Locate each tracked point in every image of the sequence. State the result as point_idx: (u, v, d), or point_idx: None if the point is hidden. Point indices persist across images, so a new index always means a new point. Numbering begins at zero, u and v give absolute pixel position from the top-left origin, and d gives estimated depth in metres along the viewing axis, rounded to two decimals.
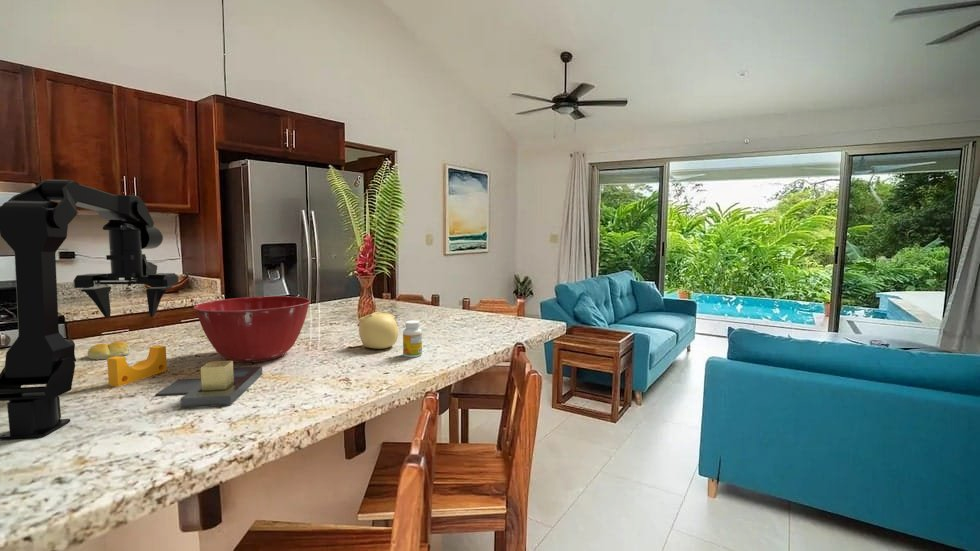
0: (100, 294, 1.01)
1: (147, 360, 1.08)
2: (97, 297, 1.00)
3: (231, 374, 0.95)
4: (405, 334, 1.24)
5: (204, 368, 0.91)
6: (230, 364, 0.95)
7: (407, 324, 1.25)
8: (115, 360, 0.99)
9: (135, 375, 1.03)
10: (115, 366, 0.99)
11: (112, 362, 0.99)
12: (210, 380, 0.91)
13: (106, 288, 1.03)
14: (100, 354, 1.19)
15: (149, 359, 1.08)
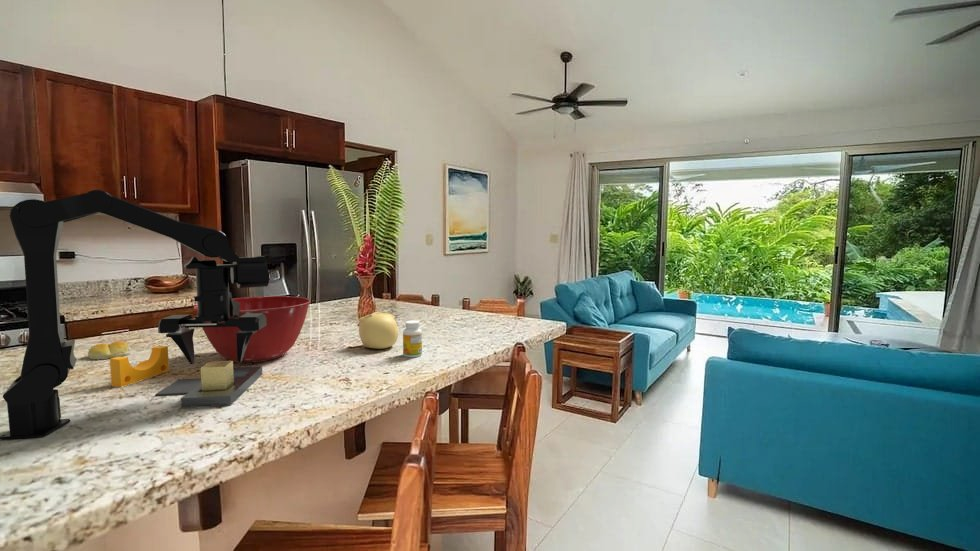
0: (186, 338, 0.91)
1: (149, 360, 1.08)
2: (182, 343, 0.90)
3: (231, 374, 0.95)
4: (405, 334, 1.24)
5: (204, 368, 0.91)
6: (230, 364, 0.95)
7: (407, 324, 1.25)
8: (118, 360, 0.98)
9: (138, 375, 1.03)
10: (118, 366, 0.99)
11: (115, 363, 0.99)
12: (210, 380, 0.91)
13: (190, 331, 0.93)
14: (100, 354, 1.19)
15: (151, 360, 1.08)
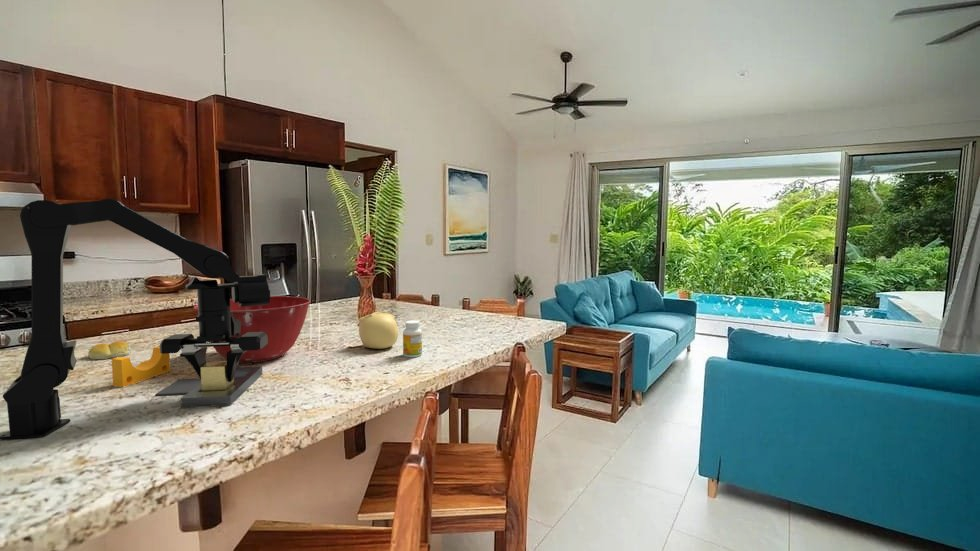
0: (199, 357, 0.92)
1: (151, 361, 1.07)
2: (196, 362, 0.91)
3: None
4: (405, 334, 1.24)
5: (204, 368, 0.91)
6: None
7: (407, 324, 1.25)
8: (120, 361, 0.98)
9: (140, 375, 1.03)
10: (120, 367, 0.98)
11: (117, 363, 0.98)
12: (210, 379, 0.91)
13: (203, 350, 0.94)
14: (100, 354, 1.19)
15: (152, 360, 1.08)
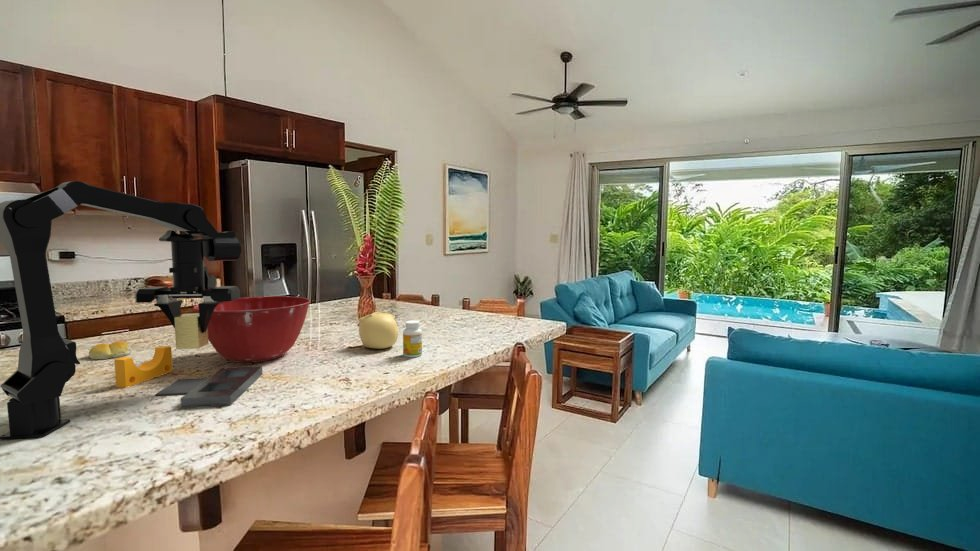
0: (173, 308, 0.96)
1: (153, 361, 1.07)
2: (170, 312, 0.95)
3: None
4: (405, 334, 1.24)
5: (178, 318, 0.95)
6: None
7: (407, 324, 1.25)
8: (123, 361, 0.98)
9: (142, 376, 1.03)
10: (123, 367, 0.98)
11: (120, 363, 0.98)
12: (183, 329, 0.96)
13: (178, 302, 0.98)
14: (101, 354, 1.19)
15: (154, 360, 1.07)
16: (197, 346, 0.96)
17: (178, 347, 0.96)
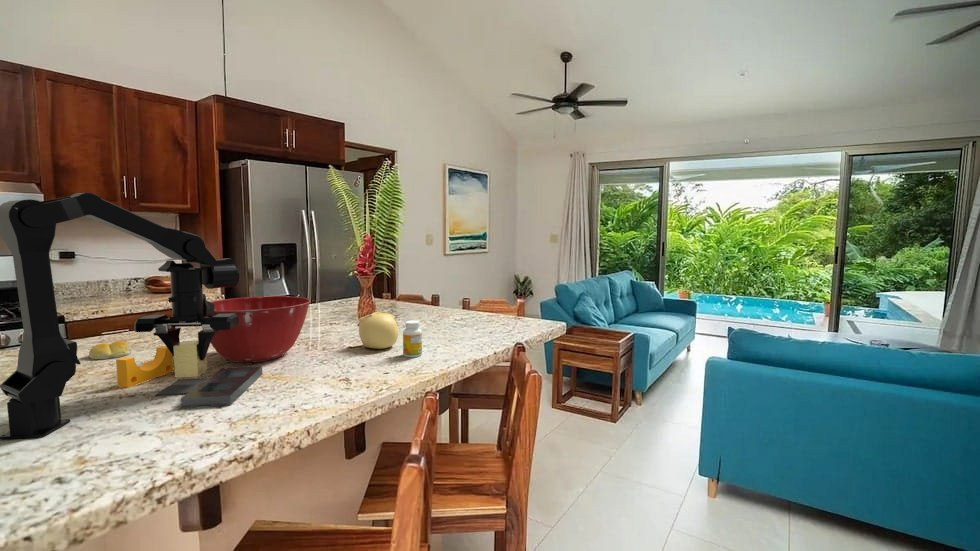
0: (172, 337, 0.97)
1: (154, 361, 1.07)
2: (169, 341, 0.96)
3: None
4: (405, 334, 1.24)
5: (177, 346, 0.96)
6: None
7: (407, 324, 1.25)
8: (125, 361, 0.98)
9: (144, 376, 1.02)
10: (124, 367, 0.98)
11: (121, 363, 0.98)
12: (182, 357, 0.96)
13: (176, 330, 0.99)
14: (101, 354, 1.19)
15: (156, 360, 1.07)
16: (196, 374, 0.97)
17: (177, 375, 0.97)
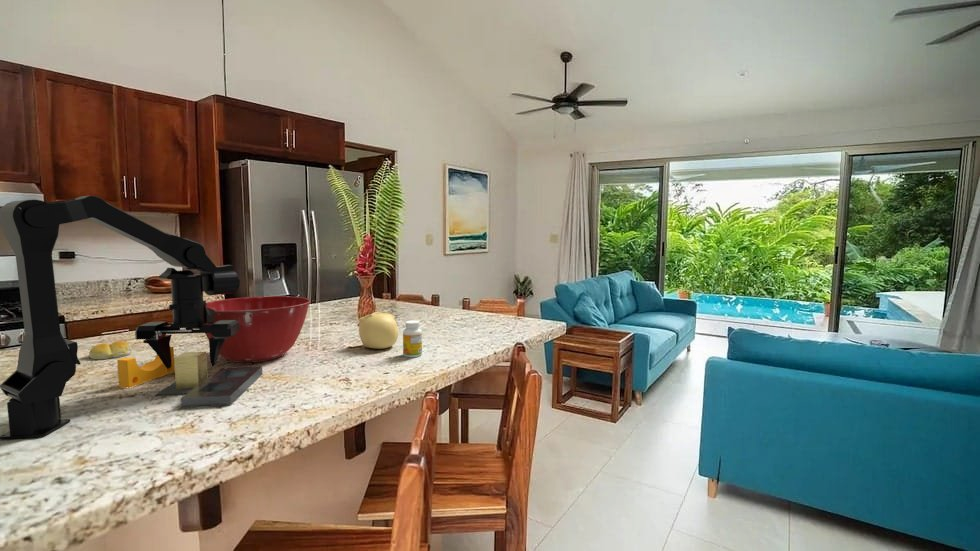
0: (162, 344, 0.96)
1: (155, 361, 1.07)
2: (159, 349, 0.95)
3: (204, 364, 1.01)
4: (405, 334, 1.24)
5: (178, 358, 0.96)
6: (203, 355, 1.00)
7: (407, 324, 1.25)
8: (126, 361, 0.98)
9: (145, 376, 1.02)
10: (126, 367, 0.98)
11: (123, 363, 0.98)
12: (183, 369, 0.97)
13: (167, 337, 0.99)
14: (101, 354, 1.19)
15: (157, 360, 1.07)
16: (197, 385, 0.98)
17: (178, 387, 0.97)
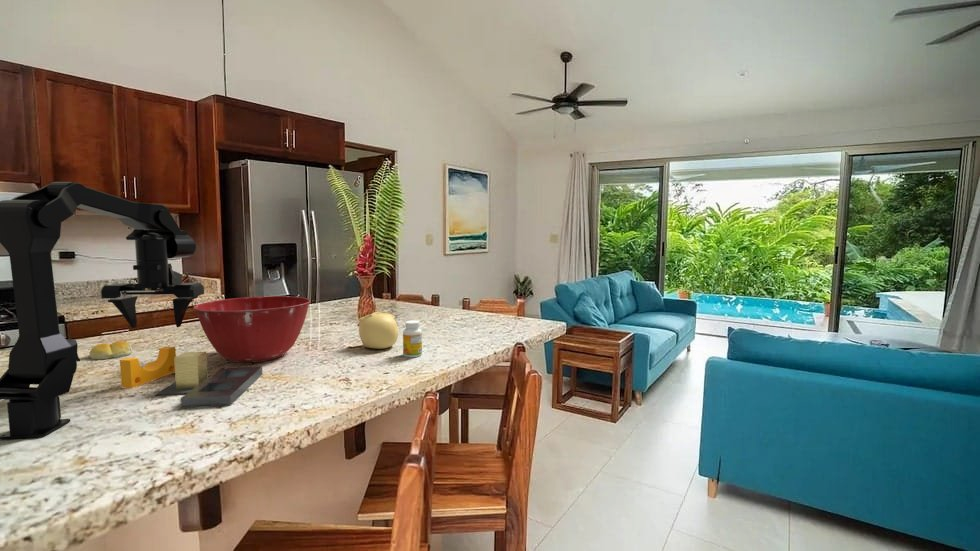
0: (127, 304, 1.00)
1: (157, 361, 1.07)
2: (123, 308, 0.99)
3: (204, 364, 1.01)
4: (405, 334, 1.24)
5: (178, 358, 0.96)
6: (203, 355, 1.00)
7: (407, 324, 1.25)
8: (128, 361, 0.98)
9: (148, 376, 1.02)
10: (128, 367, 0.98)
11: (125, 364, 0.98)
12: (183, 369, 0.97)
13: (132, 298, 1.02)
14: (102, 354, 1.20)
15: (159, 360, 1.07)
16: (197, 385, 0.98)
17: (178, 387, 0.97)
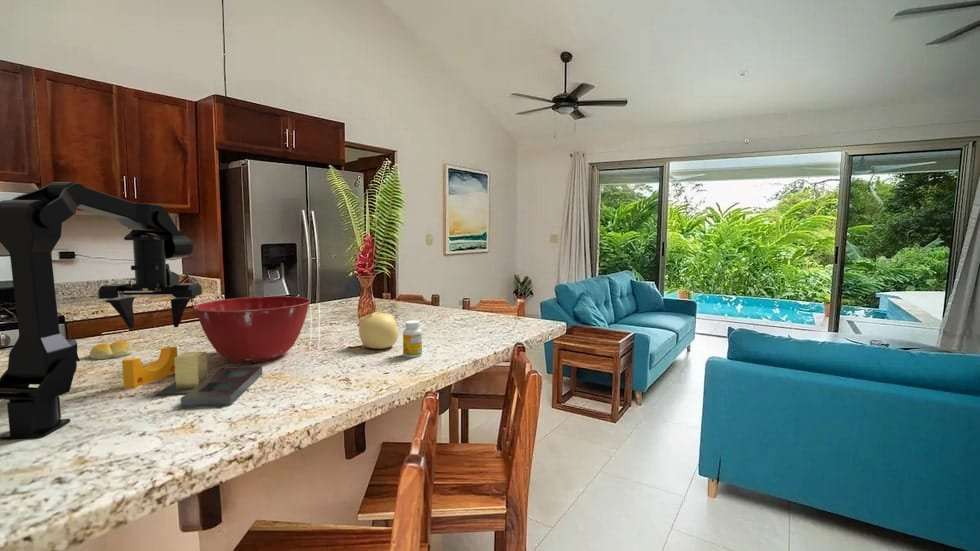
0: (124, 304, 1.00)
1: (159, 361, 1.07)
2: (121, 308, 0.99)
3: (204, 364, 1.01)
4: (405, 334, 1.24)
5: (178, 358, 0.96)
6: (203, 355, 1.00)
7: (407, 324, 1.25)
8: (131, 362, 0.98)
9: (150, 376, 1.02)
10: (131, 368, 0.98)
11: (128, 364, 0.98)
12: (183, 369, 0.97)
13: (130, 298, 1.02)
14: (102, 354, 1.20)
15: (160, 361, 1.07)
16: (197, 385, 0.98)
17: (178, 387, 0.97)
